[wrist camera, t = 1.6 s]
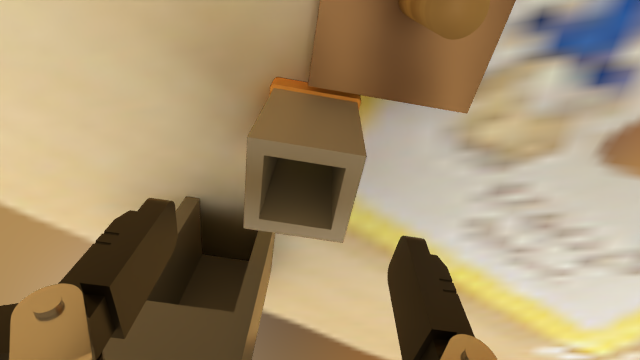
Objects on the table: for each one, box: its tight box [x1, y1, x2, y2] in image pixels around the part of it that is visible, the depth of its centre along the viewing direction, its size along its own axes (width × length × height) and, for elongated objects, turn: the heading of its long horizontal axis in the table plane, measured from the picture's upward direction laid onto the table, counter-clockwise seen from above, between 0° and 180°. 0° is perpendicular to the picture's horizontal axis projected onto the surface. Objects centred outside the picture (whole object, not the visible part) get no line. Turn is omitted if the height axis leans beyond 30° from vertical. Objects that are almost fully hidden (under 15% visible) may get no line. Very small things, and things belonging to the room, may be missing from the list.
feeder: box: [103, 197, 275, 360], centre depth 19 cm, size 7×7×18 cm
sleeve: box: [243, 77, 367, 243], centre depth 17 cm, size 5×5×8 cm
